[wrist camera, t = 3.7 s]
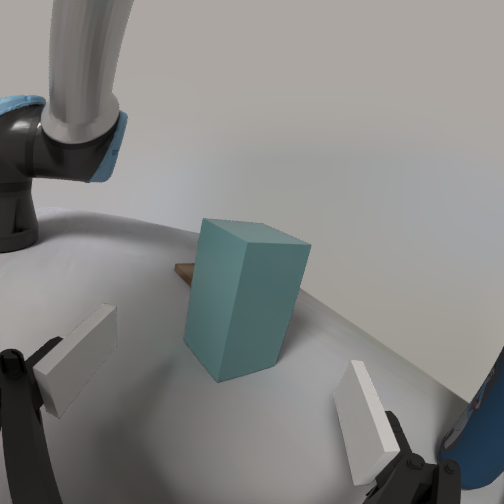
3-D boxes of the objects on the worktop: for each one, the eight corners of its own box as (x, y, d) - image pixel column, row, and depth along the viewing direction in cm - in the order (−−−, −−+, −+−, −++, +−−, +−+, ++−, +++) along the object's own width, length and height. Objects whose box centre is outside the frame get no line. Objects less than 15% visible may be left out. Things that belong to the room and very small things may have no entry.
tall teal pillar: (183, 340, 26) (202, 218, 23) (237, 331, 30) (262, 223, 27) (217, 382, 21) (247, 242, 18) (274, 365, 25) (311, 244, 22)
